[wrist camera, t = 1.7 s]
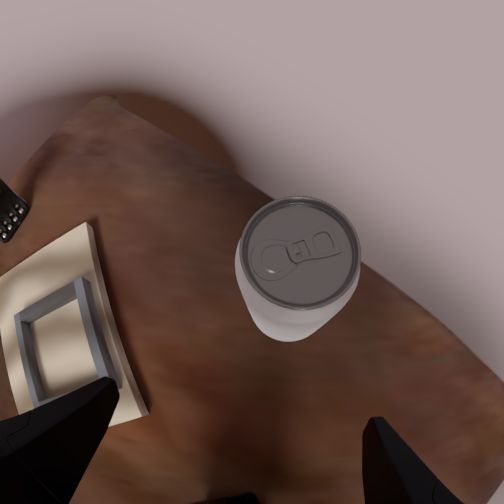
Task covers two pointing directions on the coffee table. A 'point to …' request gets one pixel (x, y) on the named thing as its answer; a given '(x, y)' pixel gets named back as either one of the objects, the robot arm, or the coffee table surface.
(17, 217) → the battery charger
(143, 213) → the coffee table surface
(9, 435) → the robot arm
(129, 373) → the collar board
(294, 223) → the can
